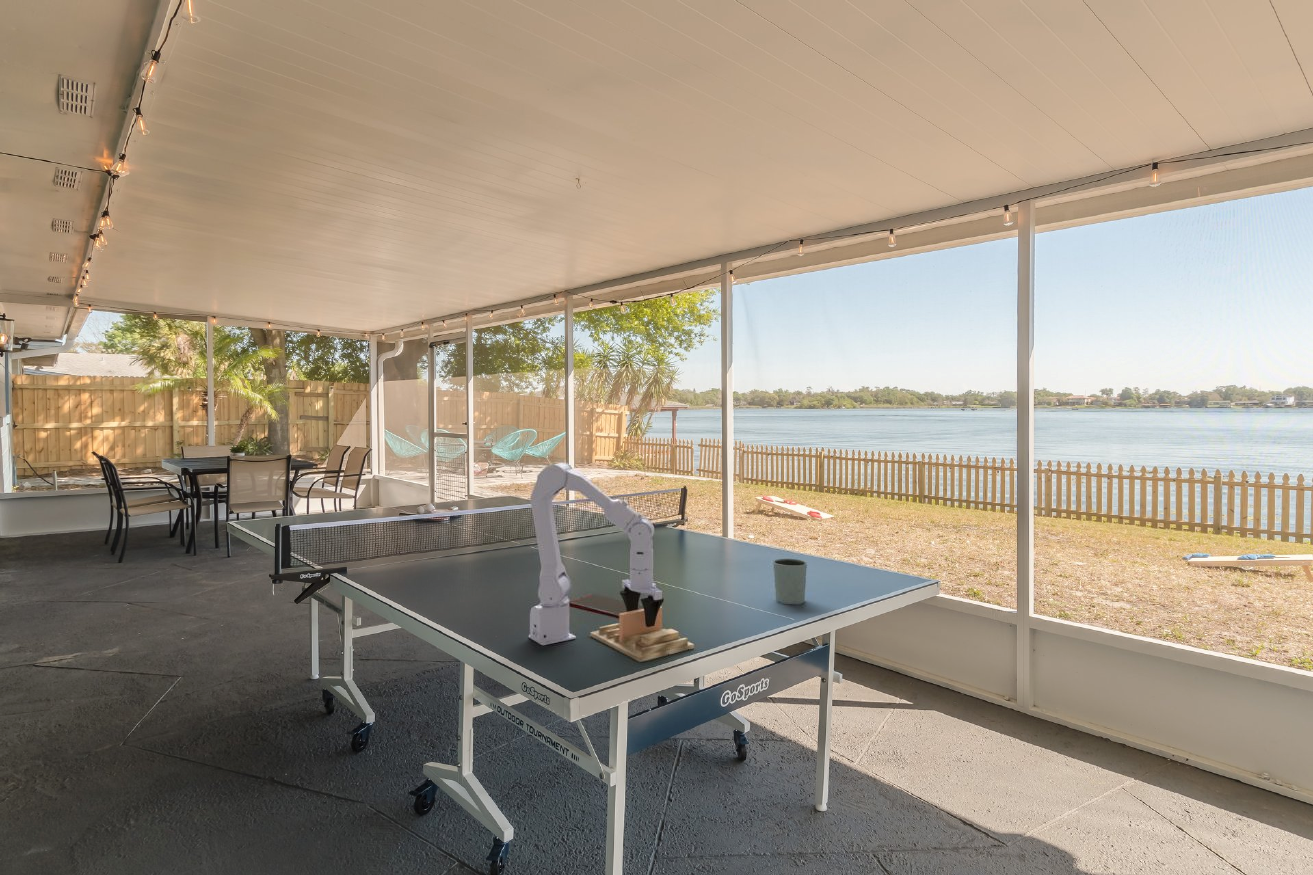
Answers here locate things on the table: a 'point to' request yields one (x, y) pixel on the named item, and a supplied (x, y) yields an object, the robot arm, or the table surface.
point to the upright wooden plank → (636, 623)
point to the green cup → (790, 580)
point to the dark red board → (601, 605)
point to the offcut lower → (641, 645)
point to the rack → (627, 647)
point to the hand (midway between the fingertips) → (641, 622)
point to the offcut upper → (659, 636)
